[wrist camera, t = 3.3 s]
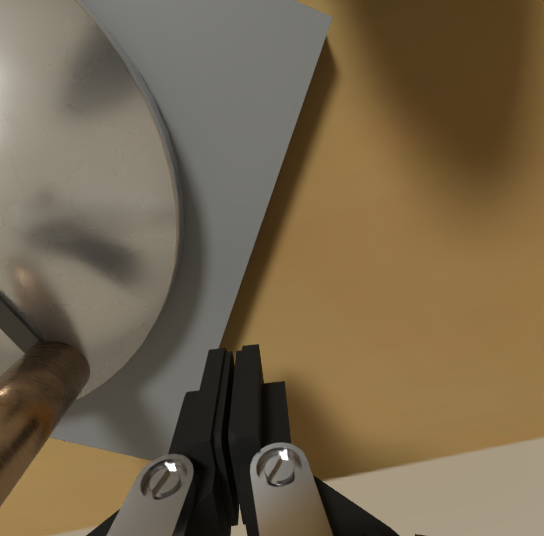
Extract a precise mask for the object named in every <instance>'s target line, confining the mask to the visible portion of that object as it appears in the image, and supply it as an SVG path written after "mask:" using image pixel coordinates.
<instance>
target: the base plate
mask: <svg viewBox="0 0 544 536" xmlns="http://www.w3.org/2000/svg"><path fill="white" fill-rule="evenodd" d="M82 1H83V2H84V3H85V4H86V6H87V7H88V8H89V9H90V10H91V11H92V12H93V13H94V14H95V15H96V17H97V18H98V19H99V20H100V21H101V22H102V23H103V24H104V25H105V26H106V28H107V29H108V30H109V31H110V32H111V33H112V35H113V36H114V37H115V39H116V40H117V41H118V43H119V44H120V46H121V47H122V48H123V50H124V51H125V53H126V54H127V55H128V57H129V58H130V59H131V61H132V62H133V64H134V65H135V66H136V68H137V70H138V72H139V74H140V75H141V77H142V79H143V81H144V82H145V84H146V86H147V88H148V89H149V91H150V93H151V95H152V96H153V98H154V100H155V102H156V105H157V107H158V110H159V112H160V114H161V117H162V119H163V121H164V124H165V126H166V128H167V131H168V133H169V136H170V140H171V143H172V147H173V150H174V154H175V157H176V160H177V164H178V168H179V174H180V181H181V187H182V193H183V205H184V234H183V244H182V253H181V259H180V263H179V266H178V270H177V274H176V278H175V282H174V284H173V287H172V289H171V292H170V294H169V296H168V299H167V301H166V304H165V306H164V307H163V309H162V311H161V313H160V315H159V316H158V318H157V320H156V322H155V323H154V325H153V327H152V328H151V330H150V332H149V333H148V335H147V337H146V338H145V340H144V341H143V343H142V345H141V346H140V347H139V349H138V350H137V351H136V352H135V353H134V355H133V356H132V357H131V358H130V359H129V360H128V362H127V363H126V364H125V365H124V366H123V367H122V368H121V369H120V370H119V371H117V372H116V373H115V374H114V375H113V376H112V377H111V378H110V379H108V380H107V381H106V382H105V383H103V384H102V385H100V386H99V387H97V388H96V389H94V390H93V391H91V392H90V393H88V394H87V395H85V396H83V397H81V398H79V399H77V400H75V401H74V402H73V404H72V405H71V407H70V408H69V410H68V411H67V412H66V414H65V415H64V417H63V418H62V420H61V421H60V422H59V424H58V425H57V427H56V428H55V430H54V431H53V432H52V434H51V435H50V438H54V439H59V440H63V441H67V442H72V443H76V444H81V445H85V446H90V447H94V448H98V449H103V450H107V451H112V452H116V453H121V454H125V455H129V456H134V457H138V458H143V459H147V460H152V461H153V460H155V459H156V458H159V457H161V456H164V455H168V452H169V449H170V445H171V442H172V438H173V435H174V431H175V428H176V424H177V421H178V417H179V414H180V410H181V407H182V403H183V400H184V396H185V394H186V392H189V391H198V390H199V389H200V385H201V381H202V376H203V372H204V368H205V363H206V359H207V355H208V351H209V350H210V349H218V348H219V346H220V343H221V340H222V337H223V334H224V331H225V328H226V325H227V322H228V319H229V316H230V314H231V311H232V308H233V305H234V302H235V299H236V296H237V293H238V290H239V287H240V285H241V282H242V279H243V276H244V273H245V270H246V267H247V264H248V261H249V258H250V256H251V253H252V250H253V247H254V244H255V241H256V238H257V235H258V232H259V229H260V227H261V224H262V221H263V218H264V215H265V212H266V209H267V206H268V203H269V200H270V198H271V195H272V192H273V189H274V186H275V183H276V180H277V177H278V174H279V171H280V169H281V166H282V163H283V160H284V157H285V154H286V151H287V148H288V145H289V142H290V140H291V137H292V134H293V131H294V128H295V125H296V122H297V119H298V116H299V113H300V110H301V108H302V105H303V102H304V99H305V96H306V93H307V90H308V87H309V84H310V81H311V79H312V76H313V73H314V70H315V67H316V64H317V61H318V58H319V55H320V52H321V50H322V47H323V44H324V41H325V38H326V35H327V32H328V29H329V26H330V23H331V21H332V18H333V17H331V16H329V15H327V14H324V13H322V12H320V11H317V10H315V9H313V8H310V7H308V6H306V5H304V4H301V3H299V2H297V1H294V0H82Z"/></svg>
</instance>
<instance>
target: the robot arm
mask: <svg viewBox="0 0 544 536" xmlns="http://www.w3.org/2000/svg"><path fill="white" fill-rule="evenodd" d="M239 504H240V510H241V515H242V521H243V524H246V530H247V535H248V536H399V535H398V534H397V533H396V532H395V531H393V530H392V529H391V528H390V527H388V526H387V525H386V524H384V523H382V522H381V521H380V520H378V519H377V518H375V517H374V516H372V515H371V514H369V513H368V512H366V511H365V510H363V509H362V508H361V507H359V506H358V505H356V504H355V503H353V502H352V501H350V500H349V499H347V498H346V497H344V496H343V495H341V494H340V493H338V492H337V491H335V490H334V489H333V488H331V487H329V486H328V485H327V484H325V483H324V482H322V481H321V480H319V479H318V478H316V477H315V476H313V475H312V472H311V469H310V466H309V463H308V460H307V458H306V456H305V454H304V452H303V451H302V450H300V449H299V448H298V447H296V446H294V445H292V444H291V436H290V427H289V418H288V409H287V400H286V390H285V381H283V382H273V383H264V380H263V373H262V365H261V357H260V350H259V344H257V345H247V346H242V350H241V351H237V352H236V361H235V365H234V359H233V353H232V352H227V351H226V348H219V349H210V350H209V351H208V355H207V359H206V363H205V368H204V372H203V376H202V381H201V385H200V389H199V390H198V391H189V392H186V394H185V396H184V400H183V403H182V407H181V410H180V414H179V417H178V421H177V424H176V428H175V431H174V435H173V438H172V442H171V445H170V449H169V452H168V455H164V456H161V457H159V458H156V459H155V460H153V461H152V462H150V463H149V464H147V465H146V466H145V467H144V468H143V469H142V470H141V472H140V473H139V475H138V476H137V478H136V480H135V482H134V483H133V485H132V487H131V489H130V491H129V493H128V495H127V497H126V499H125V501H124V503H123V505H122V507H121V509H119V510H118V511H117V512H116V513H114V514H113V515H112V516H111V517H109V518H108V519H107V520H105V521H104V522H103V523H102V524H100V525H99V526H98V527H97V528H95V529H94V530H93V531H92V532H91V533H89V534H88V535H86V536H230V534H231V526H235V525H238V516H239ZM415 536H424V535H416V534H415Z"/></svg>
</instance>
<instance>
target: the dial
mask: <svg viewBox="0 0 544 536" xmlns="http://www.w3.org/2000/svg"><path fill="white" fill-rule="evenodd" d="M183 234H184V205H183V193H182V187H181V181H180V174H179V168H178V164H177V160H176V157H175V154H174V150H173V147H172V143H171V140H170V136H169V133H168V131H167V128H166V126H165V124H164V121H163V119H162V117H161V114H160V112H159V110H158V107H157V105H156V102H155V100H154V98H153V96H152V95H151V93H150V91H149V89H148V88H147V86H146V84H145V82H144V81H143V79H142V77H141V75H140V74H139V72H138V70H137V68H136V66H135V65H134V64H133V62H132V61H131V59H130V58H129V57H128V55H127V54H126V53H125V51H124V50H123V48H122V47H121V46H120V44H119V43H118V41H117V40H116V39H115V37H114V36H113V35H112V33H111V32H110V31H109V30H108V29H107V28H106V26H105V25H104V24H103V23H102V22H101V21H100V20H99V19H98V18H97V17H96V15H95V14H94V13H93V12H92V11H91V10H90V9H89V8H88V7H87V6H86V4H85V3H84V2H83V1H82V0H0V506H1V505H2V504H3V502H4V501H5V499H6V498H7V496H8V495H9V494H10V492H11V491H12V489H13V488H14V486H15V485H16V484H17V482H18V481H19V479H20V478H21V477H22V475H23V474H24V472H25V471H26V469H27V468H28V467H29V465H30V464H31V462H32V461H33V459H34V458H35V457H36V455H37V454H38V452H39V451H40V449H41V448H42V447H43V445H44V444H45V442H46V441H47V439H48V438H49V437H50V435H51V434H52V432H53V431H54V430H55V428H56V427H57V425H58V424H59V422H60V421H61V420H62V418H63V417H64V415H65V414H66V412H67V411H68V410H69V408H70V407H71V405H72V404H73V402H74V401H75V400H77V399H79V398H81V397H83V396H85V395H87V394H88V393H90V392H91V391H93V390H94V389H96V388H97V387H99V386H100V385H102V384H103V383H105V382H106V381H107V380H108V379H110V378H111V377H112V376H113V375H114V374H115V373H116V372H117V371H119V370H120V369H121V368H122V367H123V366H124V365H125V364H126V363H127V362H128V360H129V359H130V358H131V357H132V356H133V355H134V353H135V352H136V351H137V350H138V349H139V347H140V346H141V345H142V343H143V341H144V340H145V338H146V337H147V335H148V333H149V332H150V330H151V328H152V327H153V325H154V323H155V322H156V320H157V318H158V316H159V315H160V313H161V311H162V309H163V307H164V306H165V304H166V301H167V299H168V296H169V294H170V292H171V289H172V287H173V284H174V282H175V278H176V274H177V270H178V266H179V263H180V259H181V253H182V244H183Z"/></svg>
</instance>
